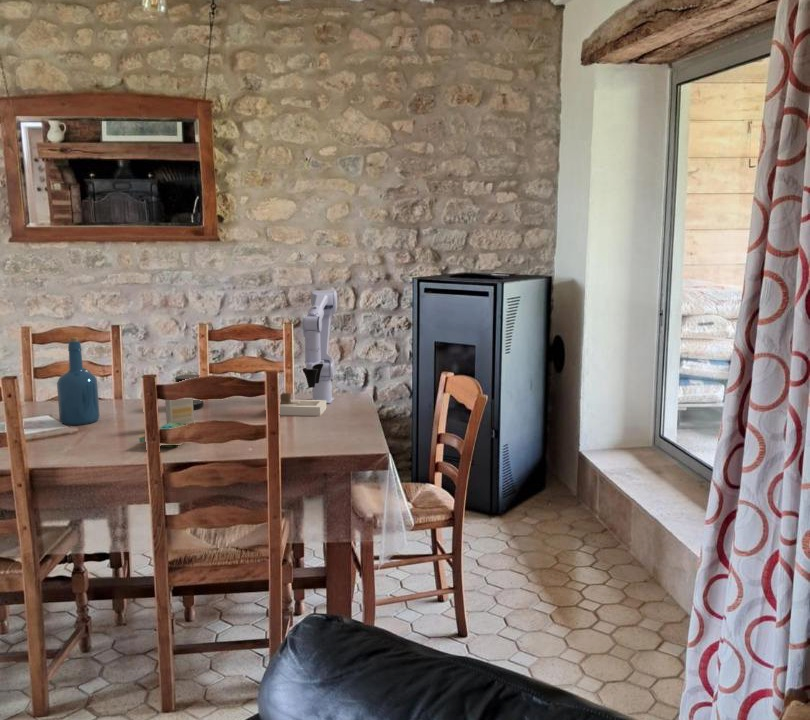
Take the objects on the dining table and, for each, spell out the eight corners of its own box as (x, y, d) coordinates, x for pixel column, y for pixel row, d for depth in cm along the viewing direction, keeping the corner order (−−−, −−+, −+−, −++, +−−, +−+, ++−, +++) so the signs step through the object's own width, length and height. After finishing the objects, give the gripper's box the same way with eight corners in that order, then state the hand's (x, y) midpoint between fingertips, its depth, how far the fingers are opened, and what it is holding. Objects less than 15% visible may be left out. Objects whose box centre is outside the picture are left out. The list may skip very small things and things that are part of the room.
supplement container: (178, 405, 313) (177, 374, 311) (206, 404, 314) (204, 373, 312) (172, 411, 303) (170, 379, 301) (201, 410, 303) (199, 379, 302)
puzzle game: (203, 421, 268) (174, 436, 248) (203, 435, 269) (175, 451, 249) (170, 420, 270) (139, 435, 251) (170, 433, 271) (140, 450, 252)
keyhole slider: (280, 408, 304) (279, 392, 303) (295, 408, 303) (294, 392, 302) (276, 411, 298) (276, 395, 297) (291, 411, 298) (291, 395, 297)
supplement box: (189, 425, 281) (187, 387, 279) (194, 427, 278) (192, 390, 275) (166, 428, 277) (164, 390, 275) (170, 431, 273) (168, 393, 271)
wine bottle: (92, 426, 281) (85, 339, 276) (53, 426, 281) (46, 340, 276) (106, 416, 294) (100, 334, 290) (69, 417, 294) (63, 334, 289)
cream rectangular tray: (274, 407, 307) (273, 399, 307) (326, 408, 306) (326, 400, 305) (265, 415, 296) (265, 406, 295) (320, 415, 294) (320, 407, 293)
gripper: (319, 352, 292) (320, 389, 294) (327, 346, 306) (328, 381, 308) (300, 351, 292) (301, 389, 295) (308, 345, 307) (309, 381, 309)
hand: (313, 385), depth 301 cm, fingers open, 7 cm apart
